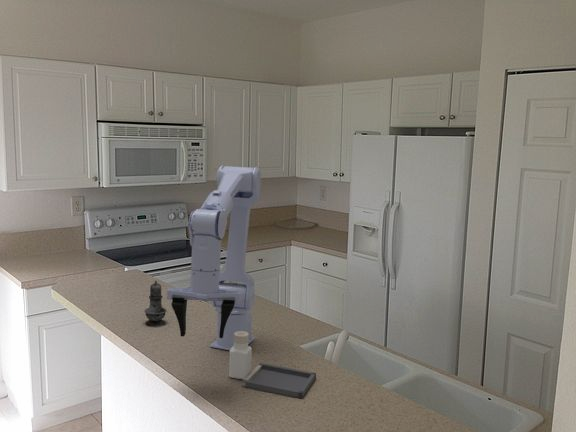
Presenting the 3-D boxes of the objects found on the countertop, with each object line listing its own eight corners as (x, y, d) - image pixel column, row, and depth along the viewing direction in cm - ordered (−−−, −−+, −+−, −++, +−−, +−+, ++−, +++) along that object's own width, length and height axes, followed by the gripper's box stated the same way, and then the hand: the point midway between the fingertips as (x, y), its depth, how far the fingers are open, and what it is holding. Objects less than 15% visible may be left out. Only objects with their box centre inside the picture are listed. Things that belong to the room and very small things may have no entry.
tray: (259, 367, 120) (259, 362, 120) (315, 378, 116) (316, 373, 115) (241, 386, 110) (241, 380, 110) (301, 398, 106) (302, 393, 106)
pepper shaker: (251, 373, 117) (253, 331, 115) (245, 381, 113) (247, 338, 112) (234, 370, 118) (235, 329, 116) (227, 378, 114) (229, 335, 112)
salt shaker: (143, 320, 147) (143, 277, 145) (165, 318, 148) (166, 277, 147) (144, 327, 141) (145, 283, 139) (167, 326, 143) (168, 282, 141)
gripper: (165, 270, 102) (162, 340, 103) (240, 274, 103) (237, 343, 104) (171, 265, 109) (168, 330, 110) (242, 268, 110) (238, 333, 111)
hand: (202, 335), depth 107 cm, fingers open, 7 cm apart
